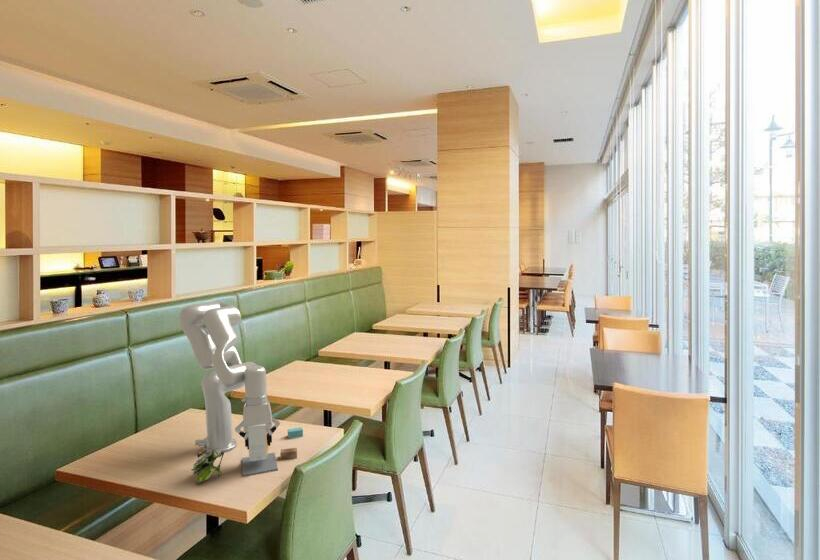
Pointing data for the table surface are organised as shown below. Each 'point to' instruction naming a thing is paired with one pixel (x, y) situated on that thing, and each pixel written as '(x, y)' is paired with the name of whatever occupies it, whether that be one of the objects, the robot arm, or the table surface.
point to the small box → (257, 442)
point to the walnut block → (288, 453)
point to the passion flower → (206, 465)
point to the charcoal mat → (259, 465)
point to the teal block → (295, 432)
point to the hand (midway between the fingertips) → (258, 445)
